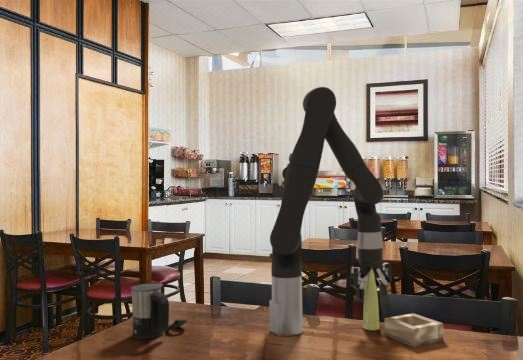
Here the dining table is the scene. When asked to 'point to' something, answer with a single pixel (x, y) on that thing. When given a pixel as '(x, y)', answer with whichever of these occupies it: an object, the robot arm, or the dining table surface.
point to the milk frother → (151, 312)
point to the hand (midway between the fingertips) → (371, 298)
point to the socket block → (414, 329)
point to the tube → (371, 304)
